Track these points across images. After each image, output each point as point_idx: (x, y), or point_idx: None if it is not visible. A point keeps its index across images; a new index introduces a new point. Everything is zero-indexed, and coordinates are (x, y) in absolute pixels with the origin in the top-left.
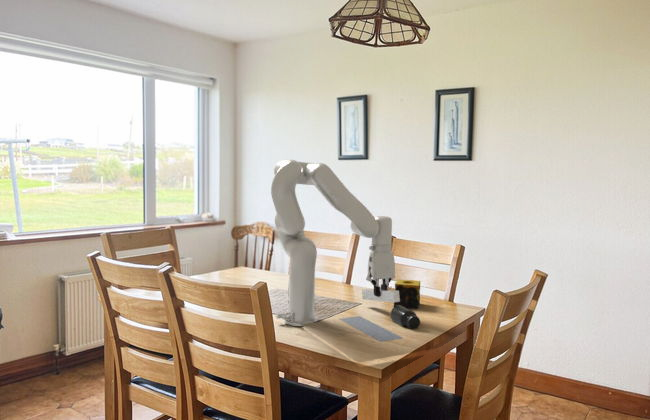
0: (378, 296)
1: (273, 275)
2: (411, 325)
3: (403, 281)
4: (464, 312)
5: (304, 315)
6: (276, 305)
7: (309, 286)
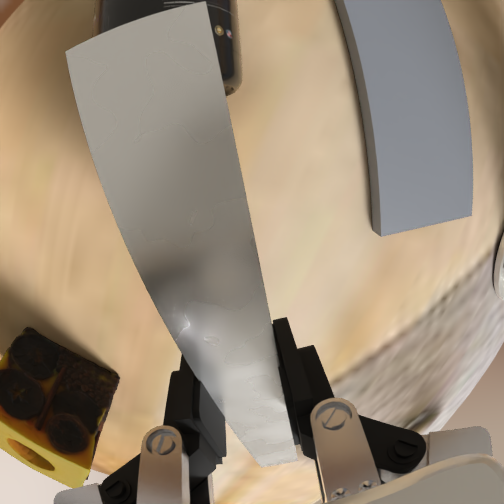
0: (286, 317)
1: None
2: None
3: (53, 471)
4: None
5: None
6: (470, 392)
7: None
